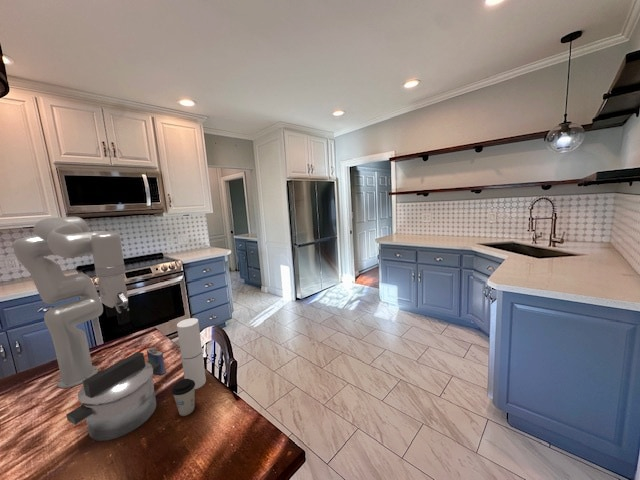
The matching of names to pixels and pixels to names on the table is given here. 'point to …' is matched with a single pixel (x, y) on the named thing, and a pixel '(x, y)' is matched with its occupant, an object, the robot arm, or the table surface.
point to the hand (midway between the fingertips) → (118, 319)
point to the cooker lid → (116, 381)
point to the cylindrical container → (191, 351)
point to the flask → (156, 359)
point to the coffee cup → (184, 396)
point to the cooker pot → (118, 413)
